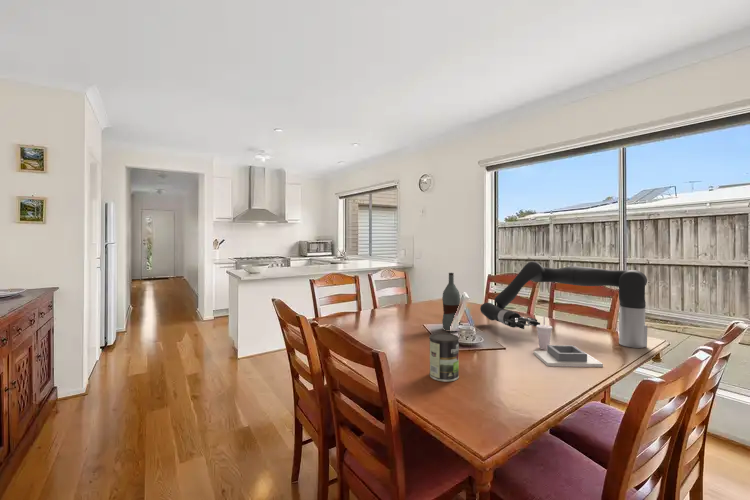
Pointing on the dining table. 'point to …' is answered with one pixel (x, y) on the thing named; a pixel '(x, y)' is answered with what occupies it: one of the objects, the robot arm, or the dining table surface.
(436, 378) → the coffee can
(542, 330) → the smoothie
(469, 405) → the dining table surface
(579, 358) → the socket stand
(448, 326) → the dark grey tall bottle
